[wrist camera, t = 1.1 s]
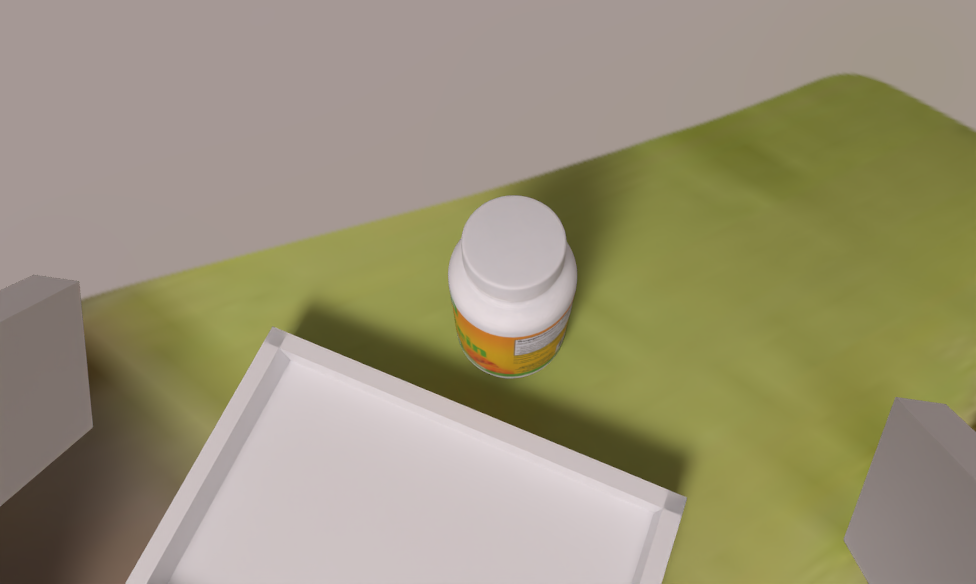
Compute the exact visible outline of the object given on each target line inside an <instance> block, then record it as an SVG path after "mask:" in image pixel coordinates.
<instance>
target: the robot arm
mask: <svg viewBox="0 0 976 584" xmlns="http://www.w3.org/2000/svg"><path fill="white" fill-rule="evenodd" d="M92 428H93V421H92V411H91V400H90V390H89V380H88V369H87V359H86V348H85V338H84V327H83V317H82V306H81V296H80V286H79V281H74V280H66V279H59V278H52V277H45V276H38V275H32V276H30V277H28V278H26V279H24V280H22V281H19V282H18V283H15V284H13V285H11V286H8V287H6V288H4V289H2V290H0V506H1V505H2V504H4V503H5V502H6V501H7V500H8V499H10V498H11V497H12V496H13V495H14V494H15V493H17V492H18V491H19V490H20V489H21V488H22V487H24V486H25V485H26V484H27V483H28V482H29V481H31V480H32V479H33V478H34V477H35V476H37V475H38V474H39V473H40V472H41V471H42V470H44V469H45V468H46V467H47V466H48V465H49V464H51V463H52V462H53V461H54V460H55V459H56V458H58V457H59V456H60V455H61V454H62V453H63V452H65V451H66V450H67V449H68V448H69V447H71V446H72V445H73V444H74V443H75V442H76V441H78V440H79V439H80V438H81V437H82V436H83V435H85V434H86V433H87V432H88V431H89V430H90V429H92ZM844 542H845V543H846V545H847V547H848V549H849V550H850V552H851V554H852V555H853V557H854V559H855V561H856V562H857V564H858V566H859V568H860V569H861V571H862V573H863V574H864V576H865V578H866V580H867V581H868V583H869V584H976V432H975V431H974V430H973V429H972V428H971V427H970V426H968V425H967V424H966V423H965V422H964V421H963V420H962V419H961V418H960V417H959V416H958V415H957V414H956V413H955V412H953V411H952V410H951V409H950V408H949V407H948V406H947V405H946V404H941V403H934V402H926V401H919V400H912V399H905V398H898V397H895V400H894V403H893V406H892V408H891V411H890V414H889V417H888V419H887V422H886V425H885V428H884V430H883V433H882V436H881V439H880V441H879V444H878V447H877V449H876V452H875V455H874V458H873V460H872V463H871V466H870V469H869V471H868V474H867V477H866V480H865V482H864V485H863V488H862V491H861V493H860V496H859V499H858V502H857V504H856V507H855V510H854V513H853V515H852V518H851V521H850V523H849V526H848V529H847V532H846V534H845V537H844Z"/></svg>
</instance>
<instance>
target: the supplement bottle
mask: <svg viewBox="0 0 976 584" xmlns="http://www.w3.org/2000/svg"><path fill="white" fill-rule="evenodd" d="M448 280H449V289H450V294H451V300H452V305H453V311H454V318H455V324H456V330H457V336H458V339H459V343H460V345H461V348H462V350H463V352H464V353H465V355H466V356H467V358H468V359H469V360H470V361H471V362H472V363H473V364H474V365H475V366H476V367H478V368H479V369H481V370H482V371H484V372H486V373H488V374H490V375H493V376H496V377H500V378H520V377H525V376H528V375H531V374H534V373H536V372H538V371H539V370H541V369H543V368H544V367H545V366H547V365H548V364H549V363H550V362H551V361H552V359H553V358H554V357H555V356H556V354H557V353H558V351H559V349H560V347H561V344H562V342H563V339H564V336H565V332H566V328H567V323H568V320H569V316H570V312H571V307H572V303H573V299H574V296H575V292H576V285H577V266H576V261H575V258H574V255H573V252H572V250H571V248H570V246H569V245H568V243H567V241H566V234H565V230H564V228H563V225H562V223H561V221H560V220H559V218H558V216H557V215H556V214H555V213H554V212H553V211H552V210H551V209H550V208H549V207H548V206H546V205H545V204H543V203H541V202H539V201H537V200H535V199H532V198H529V197H525V196H517V195H514V196H503V197H499V198H496V199H493V200H490V201H488V202H486V203H484V204H483V205H481V206H480V207H479V208H477V209H476V211H475V212H473V214H472V215H471V216H470V218H469V219H468V221H467V222H466V224H465V226H464V229H463V233H462V238H461V239H460V241H459V242H458V243H457V245H456V247H455V249H454V251H453V253H452V256H451V259H450V263H449V270H448Z"/></svg>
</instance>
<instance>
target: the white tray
mask: <svg viewBox="0 0 976 584" xmlns="http://www.w3.org/2000/svg"><path fill="white" fill-rule="evenodd" d="M686 500H687V497H685V496H682V495H680V494H677V493H675V492H672V491H670V490H668V489H665V488H663V487H660V486H658V485H655V484H653V483H651V482H648V481H646V480H643V479H641V478H638V477H636V476H634V475H631V474H629V473H626V472H624V471H622V470H619V469H617V468H614V467H612V466H609V465H607V464H605V463H602V462H600V461H597V460H595V459H592V458H590V457H588V456H585V455H583V454H580V453H578V452H575V451H573V450H571V449H568V448H566V447H563V446H561V445H559V444H556V443H554V442H551V441H549V440H546V439H544V438H542V437H539V436H537V435H534V434H532V433H529V432H527V431H525V430H522V429H520V428H517V427H515V426H512V425H510V424H508V423H505V422H503V421H500V420H498V419H496V418H493V417H491V416H488V415H486V414H483V413H481V412H479V411H476V410H474V409H471V408H469V407H466V406H464V405H462V404H459V403H457V402H454V401H452V400H449V399H447V398H445V397H442V396H440V395H437V394H435V393H433V392H430V391H428V390H425V389H423V388H420V387H418V386H416V385H413V384H411V383H408V382H406V381H403V380H401V379H399V378H396V377H394V376H391V375H389V374H386V373H384V372H382V371H379V370H377V369H374V368H372V367H369V366H367V365H365V364H362V363H360V362H357V361H355V360H353V359H350V358H348V357H345V356H343V355H340V354H338V353H336V352H333V351H331V350H328V349H326V348H323V347H321V346H319V345H316V344H314V343H311V342H309V341H306V340H304V339H302V338H299V337H297V336H294V335H292V334H290V333H287V332H285V331H282V330H280V329H277V328H275V327H272V329H271V330H270V332H269V334H268V336H267V337H266V339H265V341H264V342H263V344H262V346H261V348H260V349H259V351H258V353H257V355H256V356H255V358H254V360H253V362H252V363H251V365H250V367H249V369H248V370H247V372H246V374H245V376H244V377H243V379H242V381H241V383H240V384H239V386H238V388H237V390H236V391H235V393H234V395H233V397H232V398H231V400H230V402H229V404H228V405H227V407H226V409H225V411H224V412H223V414H222V416H221V418H220V419H219V421H218V423H217V424H216V426H215V428H214V430H213V431H212V433H211V435H210V437H209V438H208V440H207V442H206V444H205V445H204V447H203V449H202V451H201V452H200V454H199V456H198V458H197V459H196V461H195V463H194V465H193V466H192V468H191V470H190V472H189V473H188V475H187V477H186V479H185V480H184V482H183V484H182V486H181V487H180V489H179V491H178V493H177V494H176V496H175V498H174V500H173V501H172V503H171V505H170V506H169V508H168V510H167V512H166V513H165V515H164V517H163V519H162V520H161V522H160V524H159V526H158V527H157V529H156V531H155V533H154V534H153V536H152V538H151V540H150V541H149V543H148V545H147V547H146V548H145V550H144V552H143V554H142V555H141V557H140V559H139V561H138V562H137V564H136V566H135V568H134V569H133V571H132V573H131V575H130V576H129V578H128V580H127V582H126V583H125V584H661V583H662V580H663V576H664V573H665V570H666V566H667V563H668V560H669V556H670V553H671V550H672V547H673V543H674V540H675V537H676V533H677V530H678V527H679V523H680V520H681V517H682V513H683V510H684V507H685V503H686Z"/></svg>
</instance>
